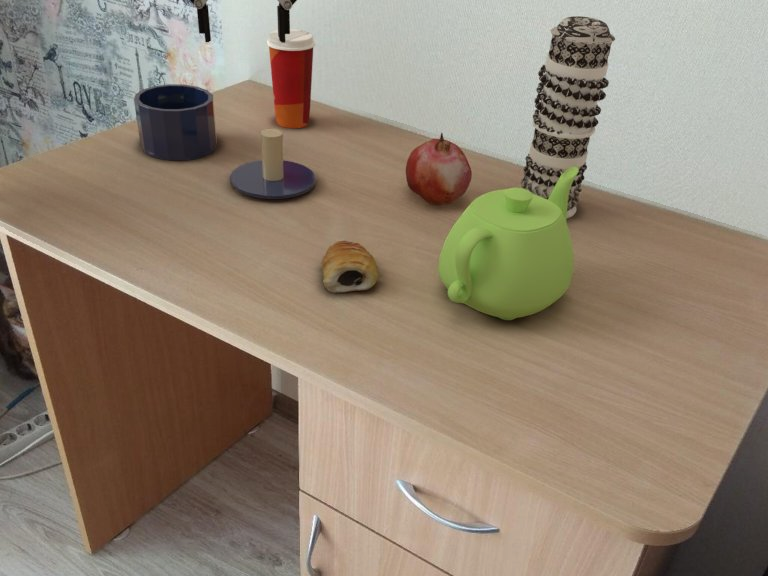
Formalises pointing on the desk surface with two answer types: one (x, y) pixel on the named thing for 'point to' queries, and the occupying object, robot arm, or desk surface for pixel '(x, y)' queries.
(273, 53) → the paper cup
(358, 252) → the pastry
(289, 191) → the lid
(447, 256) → the teapot
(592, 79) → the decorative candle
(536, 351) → the desk surface
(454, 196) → the fruit
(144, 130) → the dark blue round pot
